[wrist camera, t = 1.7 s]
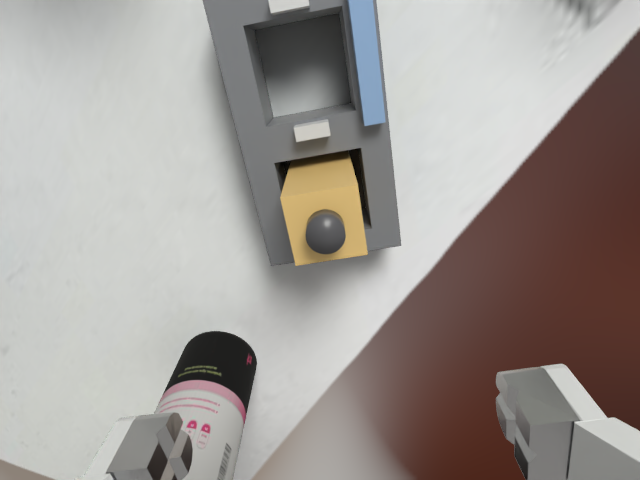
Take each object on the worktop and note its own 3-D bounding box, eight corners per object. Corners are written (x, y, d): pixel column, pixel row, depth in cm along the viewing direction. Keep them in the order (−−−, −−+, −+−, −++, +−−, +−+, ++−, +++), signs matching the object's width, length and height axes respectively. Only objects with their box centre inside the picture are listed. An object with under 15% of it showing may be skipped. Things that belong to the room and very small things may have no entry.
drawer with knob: (302, 209, 30) (294, 276, 21) (292, 157, 29) (277, 205, 19) (355, 200, 30) (370, 265, 21) (347, 147, 28) (359, 192, 19)
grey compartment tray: (277, 241, 31) (269, 273, 27) (219, 7, 25) (196, -5, 20) (391, 223, 31) (403, 252, 26) (364, -24, 24) (374, -42, 19)
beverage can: (256, 387, 38) (218, 574, 24) (186, 381, 37) (108, 568, 24) (258, 331, 35) (218, 506, 21) (183, 324, 35) (93, 498, 21)
